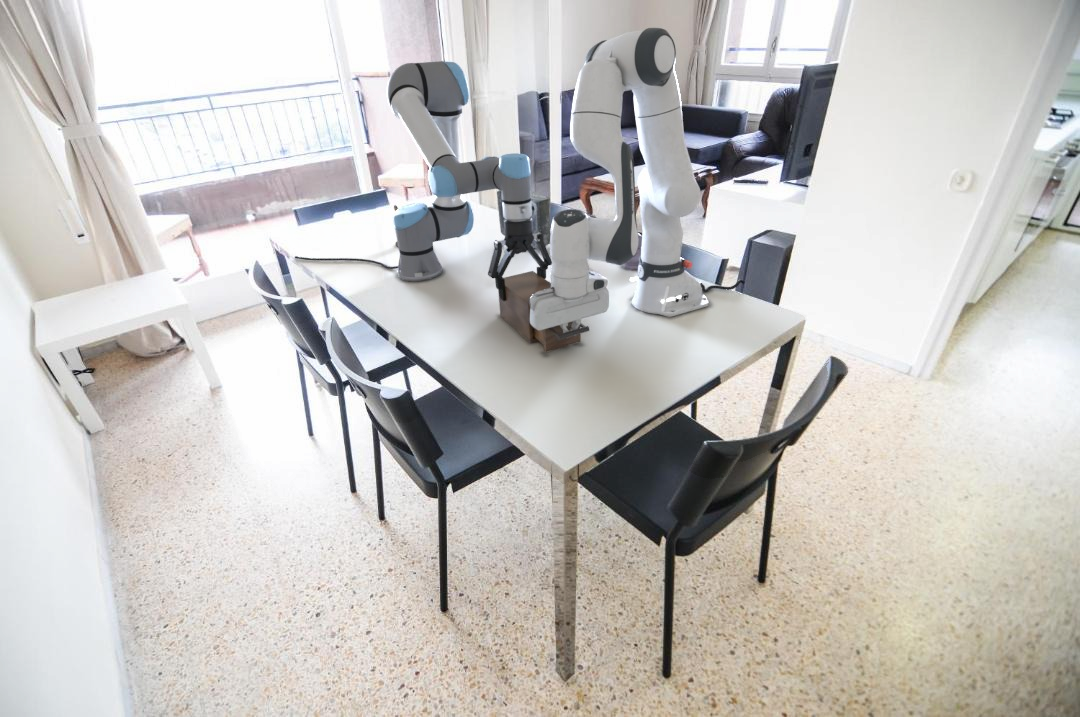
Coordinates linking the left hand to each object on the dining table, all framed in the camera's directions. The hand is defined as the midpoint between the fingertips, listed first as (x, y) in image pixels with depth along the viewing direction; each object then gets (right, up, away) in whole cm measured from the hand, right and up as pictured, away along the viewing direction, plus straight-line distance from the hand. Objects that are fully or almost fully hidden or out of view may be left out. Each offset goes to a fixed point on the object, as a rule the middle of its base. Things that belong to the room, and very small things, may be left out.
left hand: (522, 294), depth 141 cm
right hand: (+12, -13, -20) cm, 26 cm away
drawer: (+8, -13, -10) cm, 18 cm away
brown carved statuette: (-49, +30, +64) cm, 86 cm away
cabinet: (+3, -8, -1) cm, 9 cm away
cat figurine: (+38, +14, +34) cm, 52 cm away
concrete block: (0, +27, +58) cm, 64 cm away
